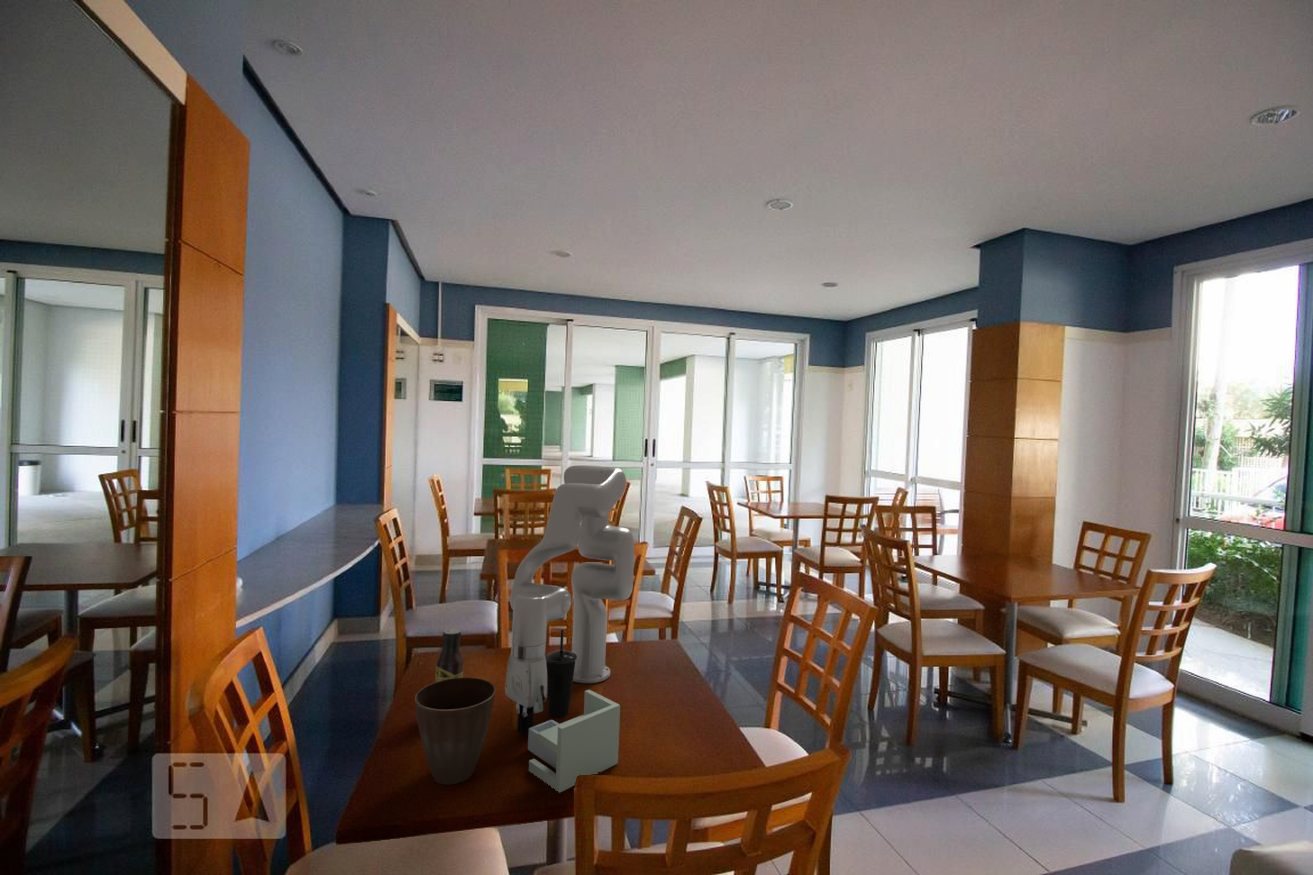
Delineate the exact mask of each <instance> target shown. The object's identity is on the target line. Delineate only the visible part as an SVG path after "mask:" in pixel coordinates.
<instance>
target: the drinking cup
mask: <svg viewBox="0 0 1313 875" xmlns="http://www.w3.org/2000/svg"><path fill="white" fill-rule="evenodd" d="M564 631H565V630H564V629H561V630H560V638H559V639H560V642H559V643H560V644H559V649H558V650H555V651H554V650H553V651H552V652H548V653H547V654H545V658H546V666H547V706H548V707H547V708H548V710H547V711H548V715H549V716H550V717H553V718H563V717H566V716H568V714H569V712H570V705H571V704H570V703H571V697H572V690H573V682H574V681H573V676H574V668H575V661H576V659H577V655H576V654H575V653H572V652H571V651H570V650H565V649H564Z"/></svg>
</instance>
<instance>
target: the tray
mask: <svg viewBox="0 0 1313 875" xmlns="http://www.w3.org/2000/svg"><path fill="white" fill-rule="evenodd" d="M558 724H560V723H559V722H557V721H555V720H553V719H549V720H546V721H545V722H541V723H539V724H537V725H534V726H533V727H531V728H529V732H528V739H527V750H528V751H529V752H530V753H532V754H533V755H535V756H537V757H538V758H540V759H541V760H542V761H544V762H545V763H546V764H548V765H550V766H551V767H553V769H555V770H556V762H557V753H556V752H554V751H553V750H551V749H550V748H548V747H547V746H545V745H544V744H542V743H541V742H539V741H538V740H537V739H538V732H541V731H543V730H546V729H548V728H551V727H553V726H556V725H558Z"/></svg>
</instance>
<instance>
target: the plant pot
mask: <svg viewBox="0 0 1313 875" xmlns="http://www.w3.org/2000/svg"><path fill="white" fill-rule="evenodd" d="M496 691H497V690H496V687H495V685H494V684H493V683H492V682H490V681H489V680H486V679H483V678H477V677H469V676H468V677H466V676H465V677H462V678H451V679H446V680H441V681H438V682H435V681H434V682H432V683H430V684H427V685H425V686H423V687H422V688H421V689H420V690H419V691H417V692H416V694H415V696H414V701H415V712H416V718H417V725H418V731H419V735H420V739H421V740H420V741H421V744H422V749H423V751H424V756H425V758H426V761H427V764H428V767H429V769H430V770H429V771H430V772H431V776H432V777H433V779H434V781H435V782H436V783H438V784H442V785H446V786H447V785H448V786H449V785H455V784H460V783H462V782H465V781H467V780H468V779H470V778H471V776H473V774H474V771H475V769H476V767H477V763H478V761H479V759H480V756H481V753H482V750H483V747H484V744H485V740H486V737H487V733H488V731H489V725H490V722H491V717H492V712H493V708H494V703H495V696H496Z"/></svg>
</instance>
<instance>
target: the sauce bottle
mask: <svg viewBox="0 0 1313 875" xmlns="http://www.w3.org/2000/svg"><path fill="white" fill-rule="evenodd" d="M461 636H462V630H461V629H459V628H455V627H454V628H446V629H444V630H443V632H442V640H443V641H442V649H441V652H440V654H439V656H438V658H437V662H436V664H435V675H434V676H435V677H434V683H435V682H438V681H441V680H446V679H451V678H462V677H463V676H464V675H463V674H464V668H463V667H464V657H463V654H462V652H461V651H460V648H461V647H460V639H461Z"/></svg>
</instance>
